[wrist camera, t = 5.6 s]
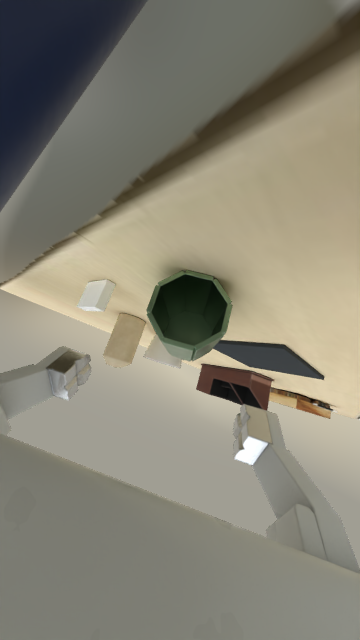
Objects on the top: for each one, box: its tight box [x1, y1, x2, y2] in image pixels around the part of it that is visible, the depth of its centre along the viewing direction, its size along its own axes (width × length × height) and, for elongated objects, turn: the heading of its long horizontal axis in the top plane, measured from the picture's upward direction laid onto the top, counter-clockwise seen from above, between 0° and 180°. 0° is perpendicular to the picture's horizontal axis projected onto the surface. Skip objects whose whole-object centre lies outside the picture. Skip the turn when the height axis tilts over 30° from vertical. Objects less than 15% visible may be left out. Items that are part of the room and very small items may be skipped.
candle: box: [103, 313, 145, 368], centre depth 38 cm, size 6×6×10 cm
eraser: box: [77, 279, 116, 311], centre depth 24 cm, size 1×5×4 cm, turn 126°
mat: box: [213, 340, 324, 380], centre depth 38 cm, size 20×16×1 cm
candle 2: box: [143, 334, 182, 368], centre depth 46 cm, size 9×9×6 cm
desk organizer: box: [196, 364, 274, 411], centre depth 74 cm, size 10×29×11 cm, turn 151°
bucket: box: [147, 270, 233, 361], centre depth 19 cm, size 10×6×6 cm, turn 1°
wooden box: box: [269, 388, 338, 419], centre depth 98 cm, size 25×6×28 cm
